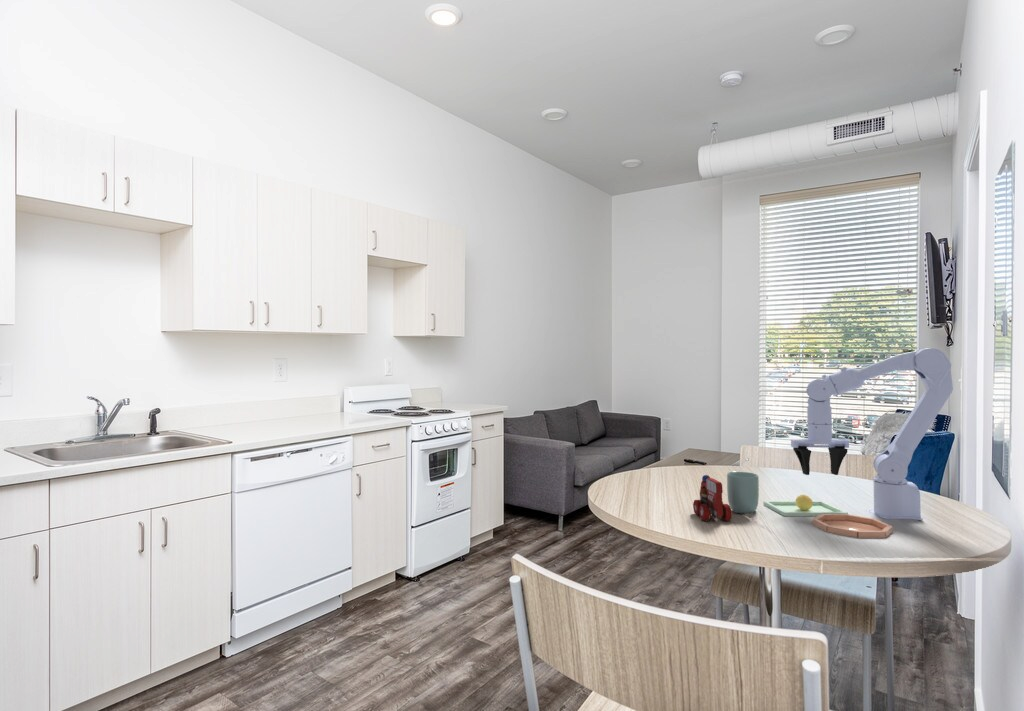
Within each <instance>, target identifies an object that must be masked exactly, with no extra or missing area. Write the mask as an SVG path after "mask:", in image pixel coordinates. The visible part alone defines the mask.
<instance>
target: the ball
mask: <svg viewBox="0 0 1024 711" xmlns="http://www.w3.org/2000/svg"><path fill="white" fill-rule="evenodd" d="M795 501H796V505H797V507H798V508H799V509H801V510H809V509H810V508H811V507H812V505H813V502H812V501H813V499H812V498H811V497H810V496H808V495H806V494H800V495H798V496H797V497H796V498H795Z"/></svg>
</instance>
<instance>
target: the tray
mask: <svg viewBox="0 0 1024 711" xmlns="http://www.w3.org/2000/svg"><path fill="white" fill-rule="evenodd" d="M812 502H813V505H812V507H811V508H810V509H809V510H801V509H799V508H798V507H797V505H796V500H763V507H767V508H769V509H771V510H772V511H775V513H778V514H780V515H781V516H783V517H817V516H818V515H820V514H846V515H847V514H849V512H848V511H845V510H844V509H841V508H838V507H836V506H834V505H832V504H830V503H827V502H826V501H823V500H812Z"/></svg>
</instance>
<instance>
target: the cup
mask: <svg viewBox="0 0 1024 711" xmlns="http://www.w3.org/2000/svg"><path fill="white" fill-rule="evenodd" d="M759 477H760V476H759V475H758V474H757V473H754V472H747V471H729V472H727V474H726V496H727V502H728V505H729V506H730V508H731V511H733V512H734V513H736V514H740V515H745V514H751V513H752V514H753V513H755V512H756V511H757V509H758V505H759V499H760V498H759V497H760V492H759V491H760V480H759V479H760V478H759Z"/></svg>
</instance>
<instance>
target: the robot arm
mask: <svg viewBox="0 0 1024 711" xmlns="http://www.w3.org/2000/svg"><path fill="white" fill-rule="evenodd" d="M898 370H900V371H901V370H902V371H904V370H905V371H914V372H915V373H916V374H917V375H918V376H919V377H920V379H921V381H922V383H923V385H924V387H925V390H924V391H923V393H922V395H921V396H920V398H919V400H918V401H917V403H916V405H915V406H914V408H913V409H912V410H911V412H910V414H909V415H908V417H907V419H906V420H904V421H905V422H904V423H903V425H902V426H901V427H900V430H899V431H898V432H897V434H896V435H895V437H894V439H893V440H892V442H891V443H889V445H888V446H887V447H886V448H885V450H884V451H883V452H881V453H879V454H877V455H876V456H875V458H874V460H873V463H872V464H873V468H874V471H876V473H877V474H876V475H875V476H874V477H873V478H872V482H873V509H867V510H866V511H867V512H869V513H871V514H874V515H875V516H878V517H881V518H883V519H891V520H893V519H900V520H901V519H903V520H904V519H907V520H909V519H911V520H912V519H914V520H915V521H924V518H923V517H921V516H922V514H921V493H920V490H919V487H918V486H917V484H915V482H914V483H913V482H912V481H908V480H907V479H906V478H907V476H908V472H909V470H908V469H909V468H908V467H909V465H910V463H911V461H912V458H913V455H914V452H915V451H916V449H917V448H918V445H919V444H920V443H921V440H922V439H923V438H924V437H925V435H926V433H927V432H928V430H929V428H930V427H931V426H932V424H933V423H934V421H935V419H936V417H937V416H938V415H939V413H940V412H941V410H942V409H943V407H944V405H945V404H946V402H947V401H948V399H949V398H950V396H951V394H952V393H953V390H954V387H953V379H952V363H951V361H950V359H949V358H948V357H947V355H946V354H945V352H944V351H942V350H941V349H938V348H936V347H928V348H927V347H926V348H921V349H920V348H919V349H917V350H915V351H914V350H913V351H910V352H905V353H901V354H896V355H894V356H891V357H888V358H886V359H883V360H880V361H877V362H875V363H872V364H871V365H868V366H866V367H862V368H860V369H858V368H855V367H851V366H850V367H848V368H847V367H846V366H843V367H841V368H840V370H838V371H836V372H833V373H831V374H828V375H826V374H823V375H821V377H822V378H815V379H813V380H811V381H810V382H809V383H808V385H807V387H806V391H805V392H806V394H807V396H808V399H807V405H808V406H807V407H806V408H807V411H806V412H807V413H806V414H807V415H806V416H807V438H801V439H791V440H790V447H791V448H792V449H793V452H794V454H795V455H796V457H797V459H798V461H799V464H800V467H801V471H802V474H803V475H805V476H809V475H810V471H811V470H810V468H811V467H810V460H811V455H812V450H810V449H809V448H827V449H828V453H829V459H830V473H831V474H832V475H834V476H838V475H839V472H840V468H841V465H842V463H843V460H844V458H845V457H846V455H847V454H848V448H850V440H848V439H833V430H832V429H833V427H832V426H833V425H832V422H833V421H832V406H831V397H832V395H834V396H838V395H842V394H846V393H849V392H851V391H854V390H857V389H859V388H861V387H862V386H863V384H864V382H865V381H866V380H867V381H868V380H869V379H873V378H876V377H879V376H882V375H885V374H888V373H891V372H895V371H898ZM866 511H865V512H866Z"/></svg>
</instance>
